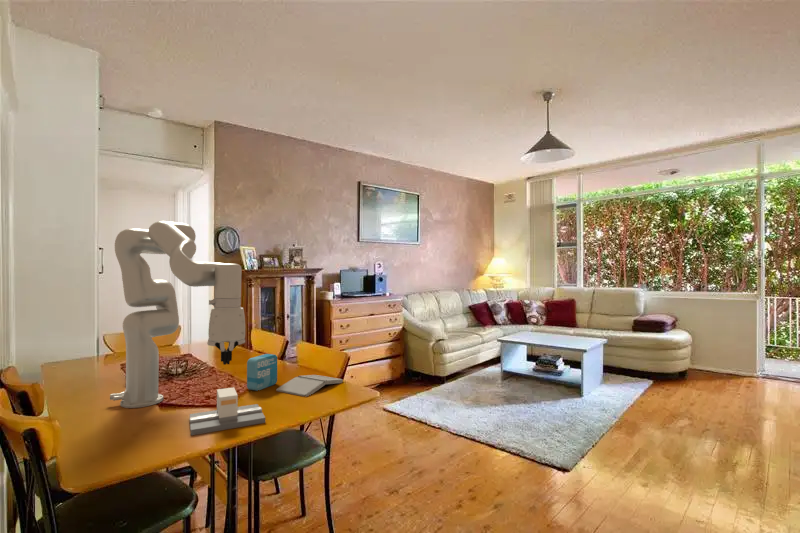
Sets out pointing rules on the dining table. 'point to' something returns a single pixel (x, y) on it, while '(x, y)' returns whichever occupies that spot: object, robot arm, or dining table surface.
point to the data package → (261, 371)
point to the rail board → (211, 423)
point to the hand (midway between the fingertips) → (226, 363)
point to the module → (227, 404)
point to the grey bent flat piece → (307, 384)
